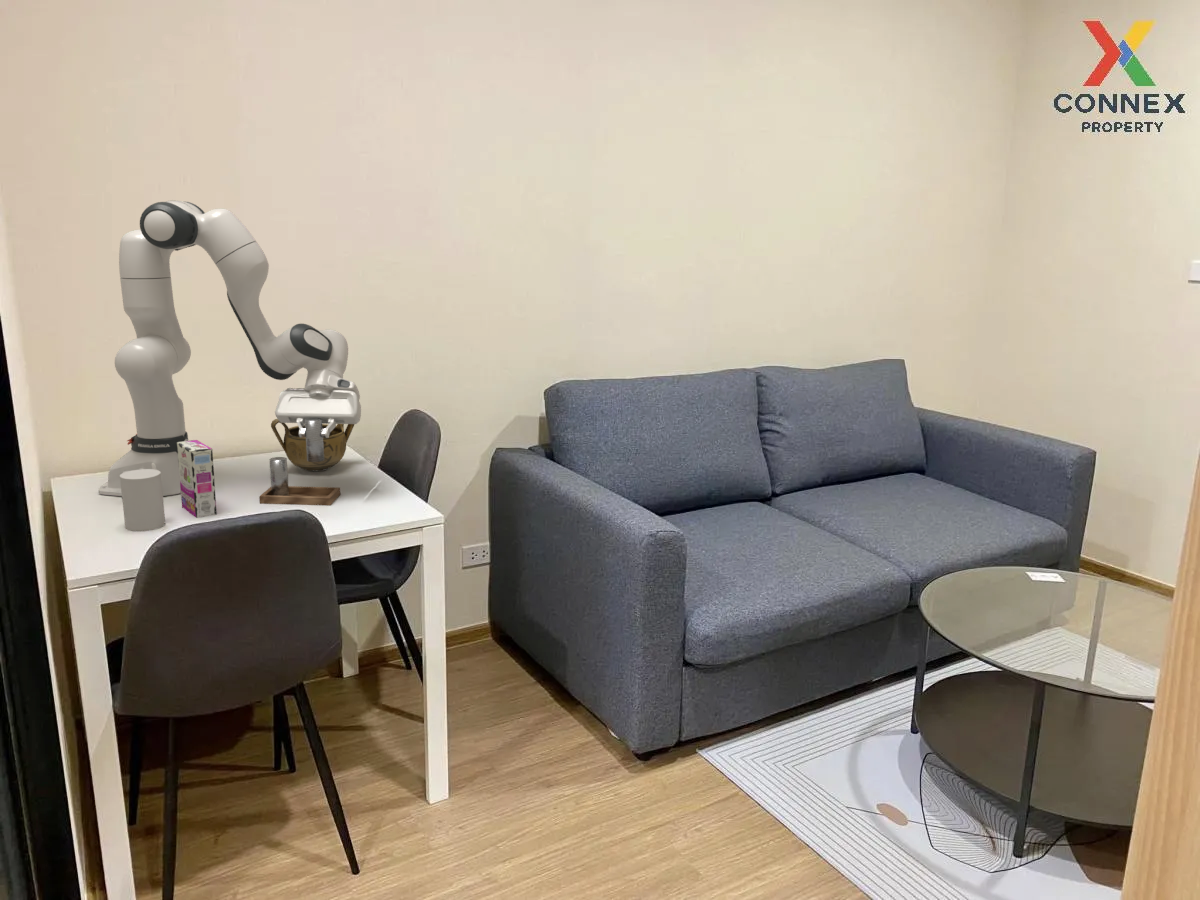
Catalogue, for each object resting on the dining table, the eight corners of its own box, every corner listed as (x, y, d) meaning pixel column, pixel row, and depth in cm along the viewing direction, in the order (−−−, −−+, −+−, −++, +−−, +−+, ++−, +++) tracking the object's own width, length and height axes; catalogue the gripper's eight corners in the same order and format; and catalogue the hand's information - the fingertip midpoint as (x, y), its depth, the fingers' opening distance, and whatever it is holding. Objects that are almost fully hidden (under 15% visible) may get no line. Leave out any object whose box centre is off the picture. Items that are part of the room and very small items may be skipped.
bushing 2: (304, 461, 225) (302, 421, 222) (310, 457, 229) (307, 417, 226) (321, 462, 225) (319, 421, 222) (326, 458, 229) (324, 418, 226)
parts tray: (259, 505, 225) (259, 496, 224) (272, 494, 234) (272, 485, 233) (330, 507, 225) (329, 498, 224) (340, 496, 234) (340, 487, 233)
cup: (171, 519, 214) (166, 469, 211) (156, 531, 206) (151, 479, 203) (135, 519, 213) (130, 468, 210) (118, 531, 205) (112, 478, 202)
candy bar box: (218, 516, 217) (213, 448, 213) (196, 520, 213) (190, 451, 209) (202, 504, 225) (197, 438, 221) (181, 508, 222) (175, 441, 218)
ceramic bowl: (348, 457, 271) (346, 406, 267) (365, 471, 256) (363, 418, 253) (268, 465, 259) (265, 413, 256) (282, 481, 245) (278, 425, 242)
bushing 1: (269, 500, 227) (267, 460, 225) (275, 495, 231) (272, 456, 229) (285, 500, 227) (283, 461, 225) (291, 496, 231) (289, 457, 229)
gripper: (277, 381, 229) (266, 428, 222) (360, 382, 229) (352, 430, 222) (285, 395, 234) (274, 442, 227) (366, 396, 234) (358, 444, 227)
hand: (313, 436), depth 225 cm, fingers closed on bushing 2, 4 cm apart
